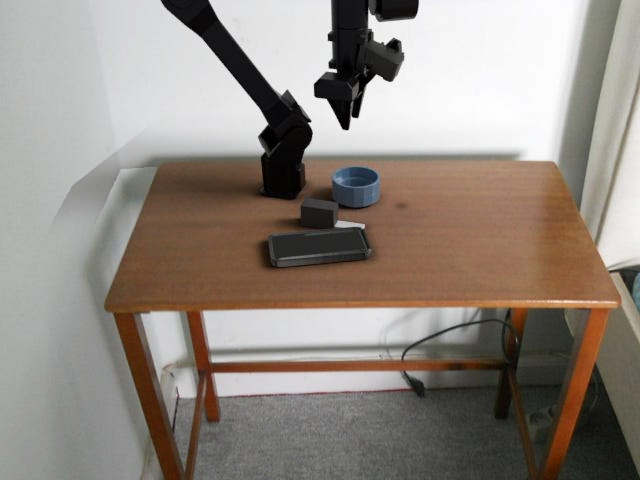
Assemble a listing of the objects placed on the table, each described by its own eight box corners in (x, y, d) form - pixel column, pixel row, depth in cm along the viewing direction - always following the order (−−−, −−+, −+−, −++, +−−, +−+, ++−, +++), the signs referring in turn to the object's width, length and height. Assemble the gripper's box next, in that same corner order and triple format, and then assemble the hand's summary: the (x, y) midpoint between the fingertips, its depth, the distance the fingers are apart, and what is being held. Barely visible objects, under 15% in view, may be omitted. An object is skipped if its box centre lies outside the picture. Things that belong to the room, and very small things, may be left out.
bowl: (326, 205, 113) (325, 184, 110) (340, 184, 119) (339, 163, 116) (372, 212, 112) (373, 190, 109) (384, 190, 118) (385, 169, 115)
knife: (301, 225, 108) (300, 205, 106) (306, 217, 110) (305, 197, 108) (361, 234, 106) (361, 214, 104) (365, 226, 108) (365, 206, 106)
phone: (372, 252, 100) (271, 261, 98) (372, 258, 101) (272, 267, 99) (362, 225, 106) (267, 233, 104) (362, 231, 107) (267, 239, 104)
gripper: (384, 47, 95) (381, 152, 105) (414, 13, 109) (409, 109, 119) (310, 40, 97) (314, 143, 108) (349, 7, 111) (350, 102, 121)
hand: (350, 123), depth 114 cm, fingers open, 5 cm apart
